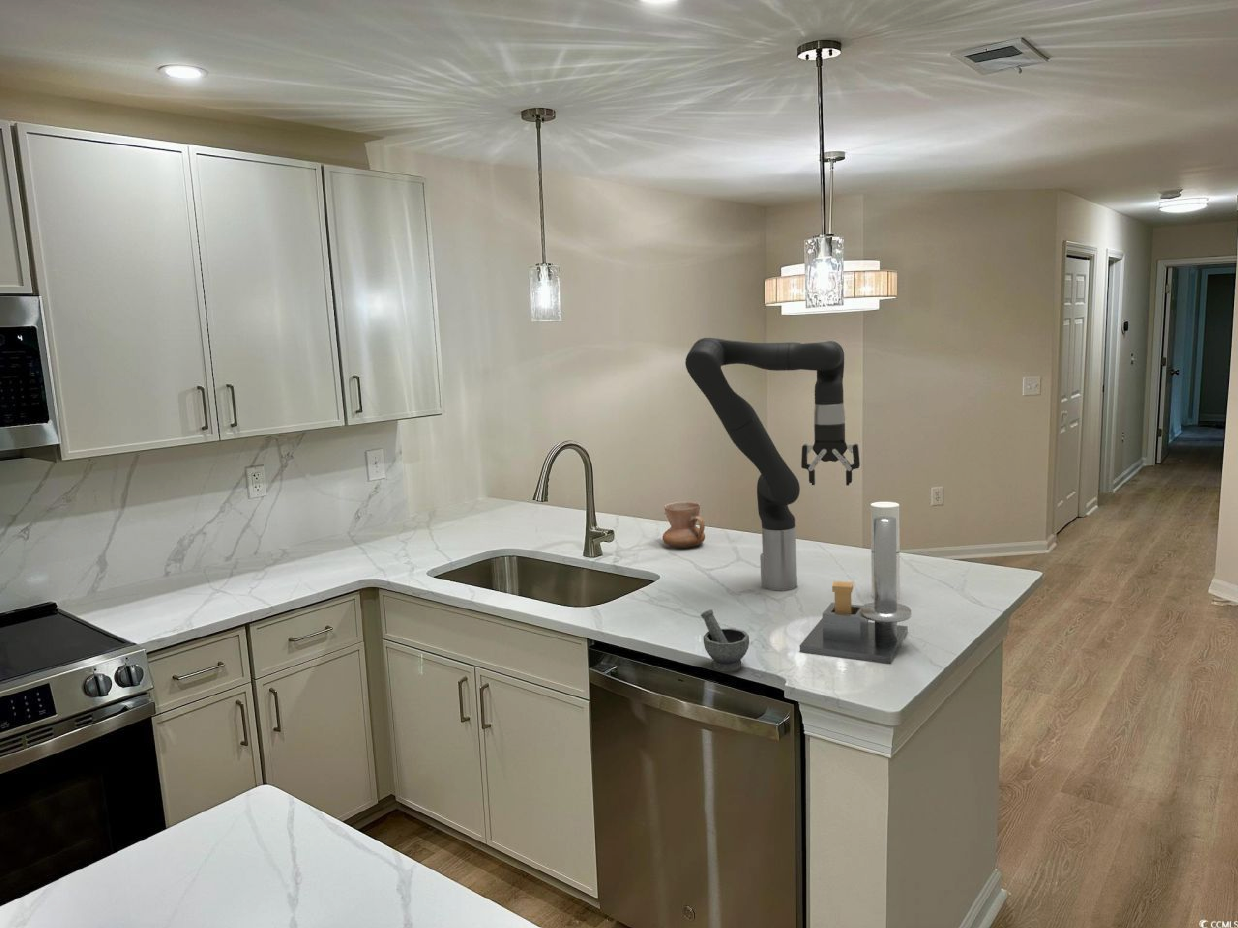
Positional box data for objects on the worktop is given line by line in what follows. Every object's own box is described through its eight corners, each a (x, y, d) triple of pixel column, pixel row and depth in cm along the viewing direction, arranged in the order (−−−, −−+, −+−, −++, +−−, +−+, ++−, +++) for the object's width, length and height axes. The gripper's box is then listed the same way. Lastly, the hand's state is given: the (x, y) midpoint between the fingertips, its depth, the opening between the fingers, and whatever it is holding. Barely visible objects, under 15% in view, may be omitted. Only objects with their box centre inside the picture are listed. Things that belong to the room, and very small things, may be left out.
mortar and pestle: (758, 663, 188) (756, 611, 186) (733, 678, 181) (730, 624, 179) (717, 652, 196) (714, 602, 194) (691, 666, 189) (689, 614, 187)
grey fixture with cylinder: (799, 651, 194) (796, 524, 189) (823, 622, 211) (820, 505, 206) (902, 665, 183) (902, 531, 178) (918, 633, 200) (918, 510, 195)
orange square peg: (833, 635, 198) (832, 585, 196) (834, 630, 201) (833, 580, 199) (852, 637, 196) (852, 586, 194) (853, 631, 200) (853, 581, 198)
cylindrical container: (881, 602, 223) (880, 508, 219) (866, 594, 230) (865, 503, 226) (905, 598, 225) (904, 505, 221) (889, 590, 232) (889, 500, 228)
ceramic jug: (651, 545, 294) (649, 505, 291) (683, 537, 302) (681, 498, 300) (687, 554, 280) (685, 512, 277) (719, 546, 288) (717, 504, 286)
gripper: (798, 424, 214) (800, 487, 216) (858, 422, 209) (858, 487, 212) (802, 420, 221) (803, 482, 223) (859, 419, 216) (860, 482, 219)
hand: (830, 484), depth 217 cm, fingers open, 8 cm apart
